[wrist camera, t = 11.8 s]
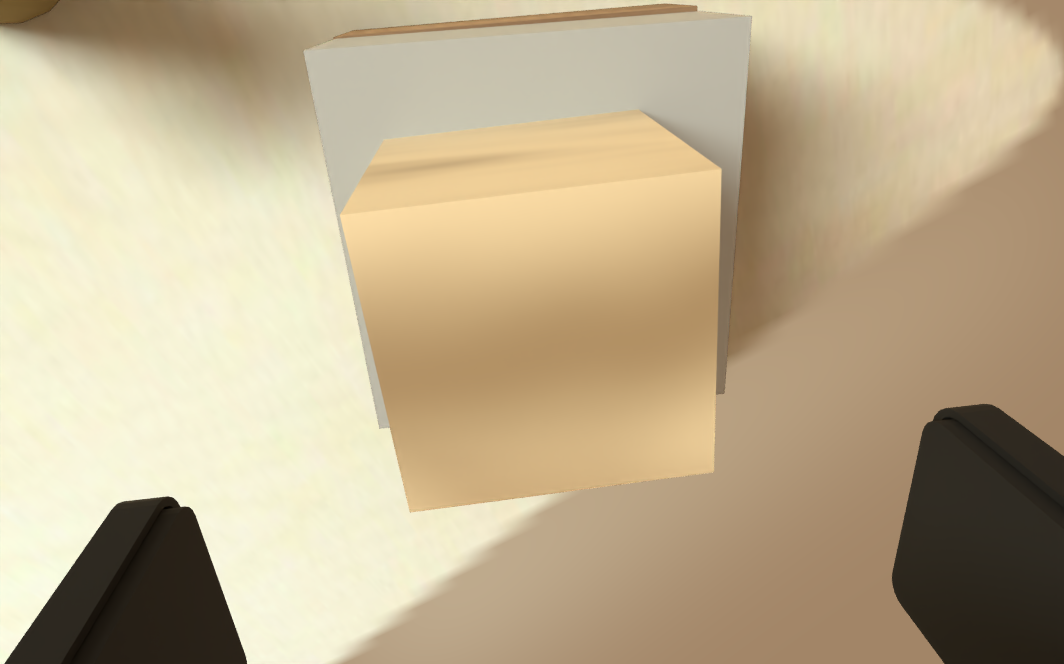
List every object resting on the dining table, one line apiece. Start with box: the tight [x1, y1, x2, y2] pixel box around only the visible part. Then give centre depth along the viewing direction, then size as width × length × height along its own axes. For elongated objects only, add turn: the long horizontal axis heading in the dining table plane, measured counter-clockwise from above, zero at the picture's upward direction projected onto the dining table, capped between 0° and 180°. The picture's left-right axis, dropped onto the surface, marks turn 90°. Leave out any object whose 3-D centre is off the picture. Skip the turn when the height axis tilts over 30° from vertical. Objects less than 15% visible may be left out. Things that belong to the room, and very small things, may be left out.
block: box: [340, 109, 722, 512], centre depth 15 cm, size 6×6×6 cm
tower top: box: [303, 11, 752, 429], centre depth 19 cm, size 10×10×4 cm
